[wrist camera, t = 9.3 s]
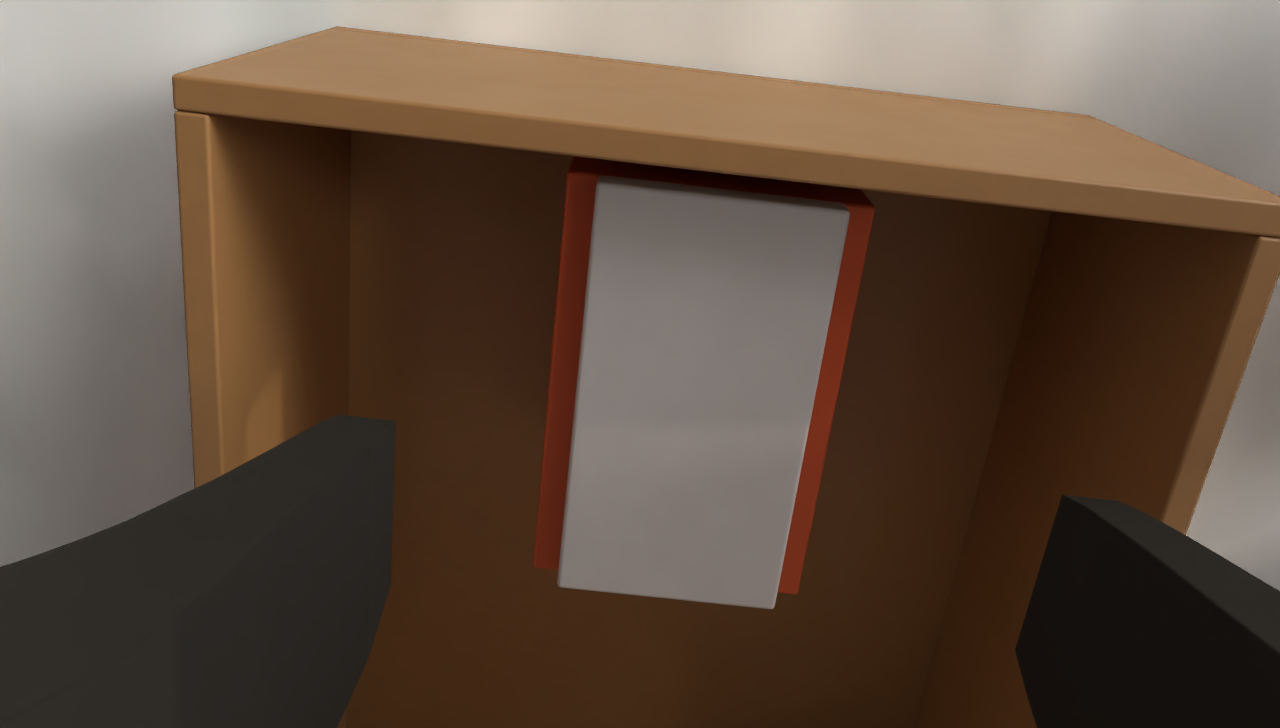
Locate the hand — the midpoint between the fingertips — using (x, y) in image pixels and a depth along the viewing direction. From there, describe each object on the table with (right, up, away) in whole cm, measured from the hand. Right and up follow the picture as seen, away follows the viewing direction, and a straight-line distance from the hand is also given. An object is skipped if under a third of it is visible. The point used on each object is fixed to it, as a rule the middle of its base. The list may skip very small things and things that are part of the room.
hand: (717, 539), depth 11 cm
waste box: (0, 0, +9) cm, 9 cm away
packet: (0, +3, +7) cm, 8 cm away
